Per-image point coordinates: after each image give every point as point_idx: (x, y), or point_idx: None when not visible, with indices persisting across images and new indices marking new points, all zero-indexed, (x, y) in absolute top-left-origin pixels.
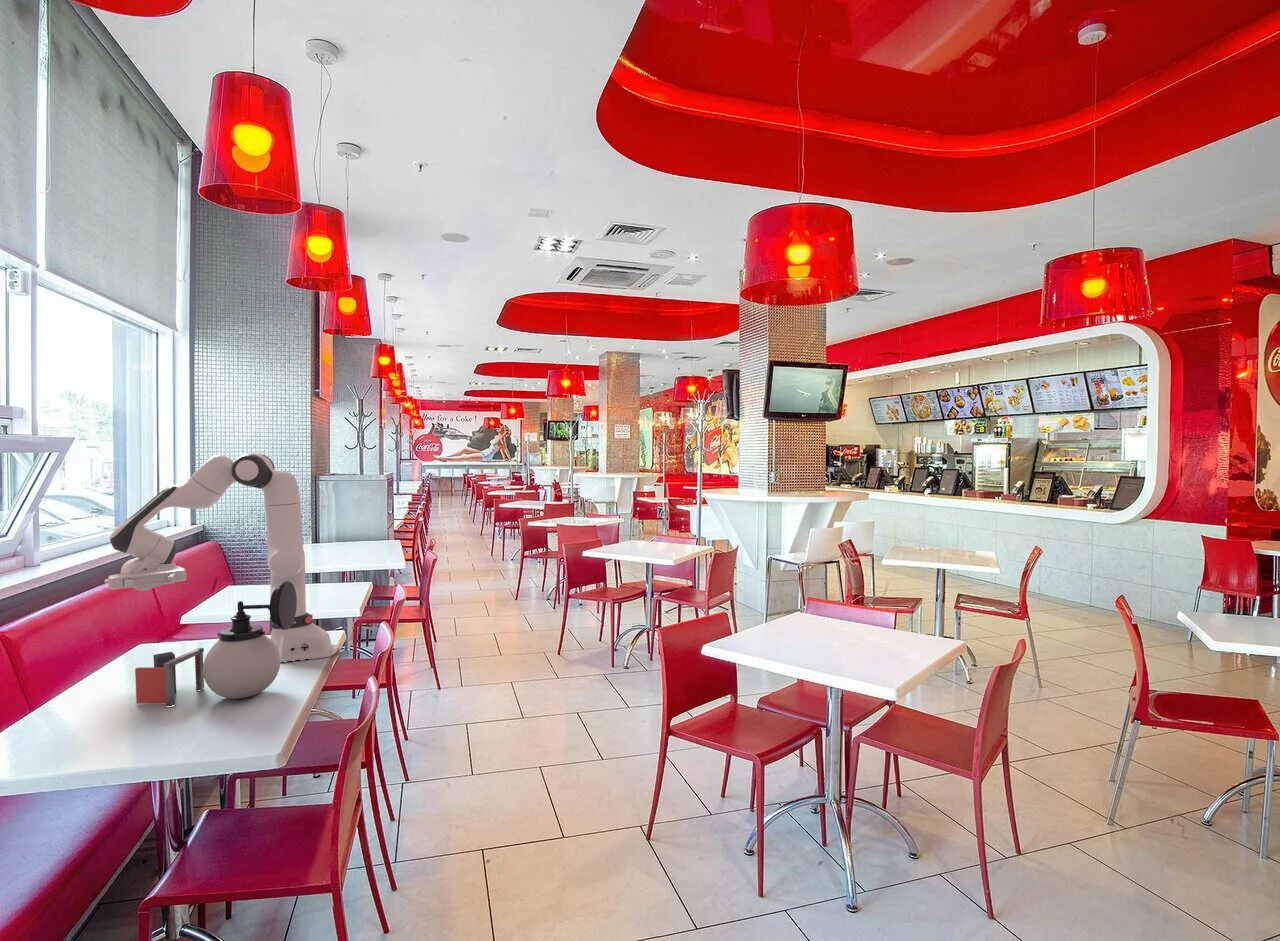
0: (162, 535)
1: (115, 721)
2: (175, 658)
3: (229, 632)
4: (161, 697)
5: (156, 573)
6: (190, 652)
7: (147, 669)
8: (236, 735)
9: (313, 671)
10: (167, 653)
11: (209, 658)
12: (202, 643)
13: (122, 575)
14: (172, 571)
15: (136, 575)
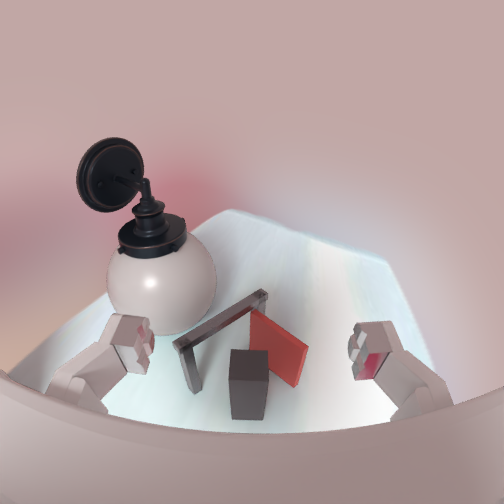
0: None
1: (326, 337)
2: (243, 308)
3: (173, 224)
4: None
5: (171, 430)
6: (206, 327)
7: (288, 334)
8: (230, 239)
9: (56, 338)
10: (240, 370)
11: (209, 257)
12: None
13: (489, 478)
14: (38, 395)
15: (379, 429)
